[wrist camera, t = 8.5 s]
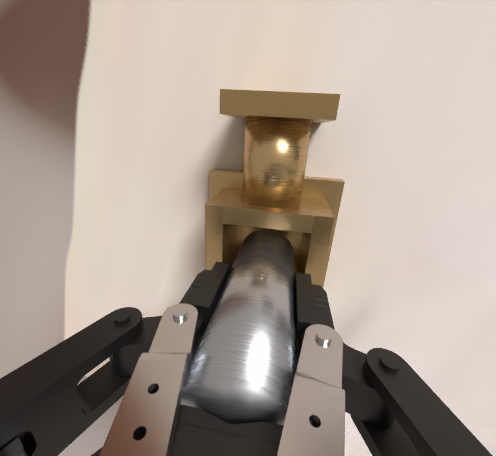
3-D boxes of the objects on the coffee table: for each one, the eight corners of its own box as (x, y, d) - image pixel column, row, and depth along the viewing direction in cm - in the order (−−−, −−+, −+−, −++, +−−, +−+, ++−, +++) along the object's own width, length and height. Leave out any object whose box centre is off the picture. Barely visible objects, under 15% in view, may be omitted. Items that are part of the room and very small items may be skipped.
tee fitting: (356, 107, 15) (387, 96, 10) (319, 290, 20) (329, 341, 15) (212, 99, 16) (179, 87, 11) (211, 276, 21) (189, 318, 16)
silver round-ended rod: (297, 232, 15) (309, 398, 6) (290, 280, 16) (290, 479, 7) (241, 226, 15) (168, 370, 6) (239, 273, 17) (175, 452, 7)
